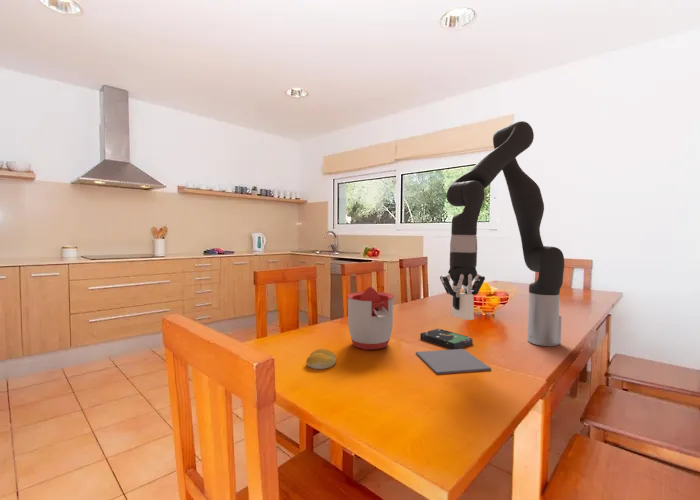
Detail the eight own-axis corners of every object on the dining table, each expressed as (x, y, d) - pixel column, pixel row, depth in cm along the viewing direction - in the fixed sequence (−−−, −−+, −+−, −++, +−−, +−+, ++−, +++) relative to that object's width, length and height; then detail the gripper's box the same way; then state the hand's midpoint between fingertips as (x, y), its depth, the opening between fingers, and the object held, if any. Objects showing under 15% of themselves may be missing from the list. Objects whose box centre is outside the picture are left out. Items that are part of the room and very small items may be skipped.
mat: (463, 350, 113) (463, 348, 113) (491, 370, 97) (491, 368, 97) (415, 353, 110) (415, 351, 110) (436, 374, 94) (436, 372, 94)
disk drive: (419, 341, 125) (454, 351, 113) (419, 333, 125) (455, 343, 113) (438, 335, 131) (473, 345, 119) (438, 328, 131) (473, 336, 119)
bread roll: (303, 369, 98) (303, 355, 98) (312, 358, 107) (312, 345, 107) (331, 371, 97) (331, 357, 97) (338, 359, 106) (338, 346, 105)
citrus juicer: (360, 357, 107) (360, 292, 106) (340, 340, 123) (340, 284, 122) (404, 350, 113) (405, 289, 112) (380, 335, 129) (380, 282, 128)
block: (459, 315, 107) (458, 292, 107) (474, 319, 98) (473, 294, 98) (451, 315, 106) (450, 292, 107) (466, 319, 98) (465, 294, 98)
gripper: (478, 250, 107) (476, 306, 108) (435, 249, 104) (434, 307, 105) (492, 251, 99) (490, 311, 100) (446, 251, 97) (444, 312, 98)
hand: (461, 309), depth 103 cm, fingers closed on block, 2 cm apart
